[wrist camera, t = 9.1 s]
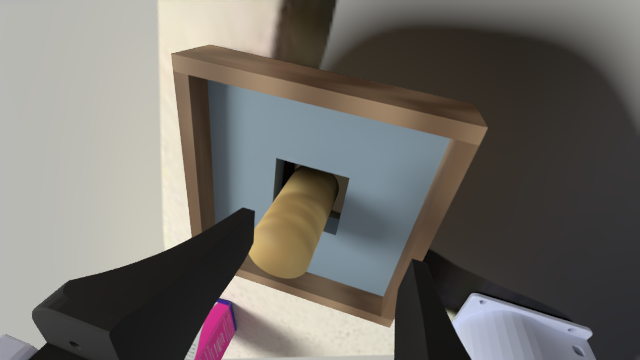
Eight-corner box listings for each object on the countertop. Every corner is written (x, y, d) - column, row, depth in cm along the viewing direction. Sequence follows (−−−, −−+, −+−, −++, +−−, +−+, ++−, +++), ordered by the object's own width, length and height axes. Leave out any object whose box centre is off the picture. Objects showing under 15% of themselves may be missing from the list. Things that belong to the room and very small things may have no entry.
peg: (342, 171, 23) (313, 240, 17) (333, 211, 26) (305, 286, 19) (294, 157, 24) (247, 220, 17) (289, 197, 26) (246, 266, 20)
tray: (475, 104, 19) (487, 127, 15) (392, 289, 28) (389, 327, 25) (209, 44, 21) (171, 53, 18) (218, 233, 31) (194, 261, 28)
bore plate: (452, 115, 19) (455, 127, 18) (385, 278, 28) (383, 296, 26) (223, 62, 22) (206, 68, 20) (227, 228, 30) (216, 242, 29)
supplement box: (199, 319, 41) (134, 416, 31) (190, 290, 38) (115, 388, 28) (238, 330, 40) (183, 434, 30) (232, 301, 37) (168, 407, 27)
